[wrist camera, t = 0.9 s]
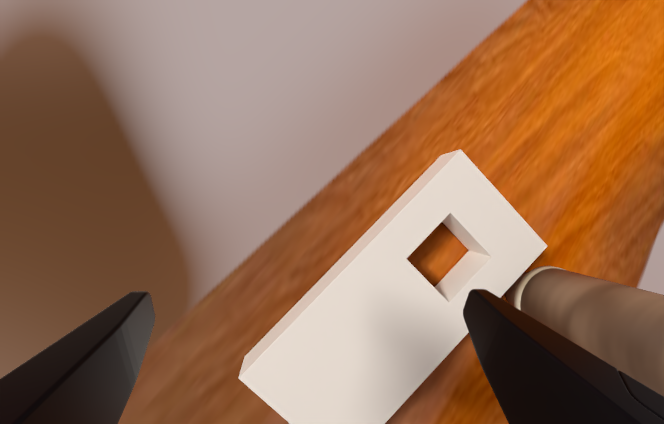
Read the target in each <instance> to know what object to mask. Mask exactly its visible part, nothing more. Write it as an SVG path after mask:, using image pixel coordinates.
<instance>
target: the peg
mask: <svg viewBox="0 0 664 424" xmlns="http://www.w3.org/2000/svg"><path fill="white" fill-rule="evenodd" d="M505 296H506V299H507V301H508V303H509V304H511V305H512V306H514V307H516V308H517V309H519V310H521V311H522V312H524V313H526V314H527V315H529V316H531V317H532V318H534V319H536V320H537V321H539V322H541V323H542V324H544V325H546V326H547V327H549V328H551V329H552V330H554V331H556V332H557V333H559V334H560V335H562V336H564V337H565V338H567V339H569V340H570V341H572V342H574V343H575V344H577V345H579V346H580V347H582V348H584V349H585V350H587V351H589V352H590V353H592V354H594V355H595V356H597V357H599V358H600V359H602V360H604V361H605V362H607V363H609V364H610V365H612V366H613V367H615V368H616V369H617V370H620V371H622V372H624V373H625V374H627V375H628V376H630V377H632V378H633V379H635V380H637V381H638V382H640V383H642V384H643V385H645V386H647V387H649V388H650V389H652V390H654V391H655V392H657V393H659V394H660V395H662V396H664V295H661V294H657V293H653V292H649V291H646V290H642V289H638V288H634V287H630V286H626V285H622V284H618V283H614V282H610V281H606V280H602V279H598V278H594V277H590V276H586V275H582V274H578V273H574V272H570V271H566V270H564V269H561V268H557V267H553V266H541V267H538V268H535V269H533V270H531V271H530V272H528V273H526V272H524V273H523V274H522V275H521V276H520V277H519V278H518V279H517V280H516V281H515V282H514V283H513V284H512V286H511V287H510V288H509V289H508V290H507V291H506V292H505Z"/></svg>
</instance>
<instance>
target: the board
mask: <svg viewBox="0 0 664 424" xmlns="http://www.w3.org/2000/svg"><path fill="white" fill-rule="evenodd" d="M441 222H443V223H444V224H445V226H446V227H447V228H448V229H449V230H450V231H451V232H452V233H453V234H454V235H455V236H456V237H457V238H458V239H459V240H460V241H461V243H462V244H463V245H464V246H465V247H466V248H467V249H468V250H469V251H468V252H467V253H466V254H465V255H464V256H463V258H462V259H461V260H460V261H459V262H458V263H457V264H456V265H455V266H454V267H453V268H452V269H451V270H450V271H449V272H448V273H447V275H446V276H445V277H444V278H443V279H442V280H441V281H440V282H439V283H438V284H437V285H436V286H435V287H433V286H432V285H431V284H430V283H429V282H428V280H427V279H426V278H425V277H424V276H423V275H422V274H421V273H420V272H419V271H418V270H417V269H416V268H415V267H414V266H413V265H412V264H411V263H410V262H409V261H408V260H407V258H408V256H409V255H410V254H411V253H412V252H413V251H414V250H415V249H416V248H417V247H418V246H419V245H420V244H421V243H422V242H423V241H424V240H425V239H426V238H427V237H428V236H429V234H430V233H431V232H432V231H433V230H434V229H435V228H436V227H437V226H438V225H439V224H440V223H441ZM546 247H547V245H546V244H545V243H544V242H543V240H542V239H541V238H540V237H539V236H538V235H537V234H536V233H535V232H534V230H533V229H532V228H531V227H530V226H529V225H528V224H527V223H526V222H525V220H524V219H523V218H522V217H521V216H520V215H519V214H518V213H517V212H516V210H515V209H514V208H513V207H512V206H511V205H510V204H509V203H508V202H507V200H506V199H505V198H504V197H503V196H502V195H501V194H500V193H499V191H498V190H497V189H496V188H495V187H494V186H493V185H492V184H491V183H490V181H489V180H488V179H487V178H486V177H485V176H484V175H483V174H482V173H481V171H480V170H479V169H478V168H477V167H476V166H475V165H474V164H473V163H472V161H471V160H470V159H469V158H468V157H467V156H466V155H465V154H464V153H463V151H462V150H461V149H460V150H457V151H453V152H450V153H447V154H443V155H441V156H440V157H439V158H438V159H437V160H436V161H435V162H434V163H433V164H432V165H431V166H430V167H429V168H428V169H427V170H426V171H425V172H424V173H423V174H422V175H421V176H420V177H419V178H418V179H417V180H416V181H415V182H414V183H413V184H412V186H411V187H410V188H409V189H408V190H407V191H406V192H405V193H404V194H403V195H402V196H401V197H400V198H399V199H398V200H397V201H396V202H395V203H394V204H393V205H392V206H391V207H390V208H389V209H388V210H387V211H386V212H385V213H384V214H383V215H382V216H381V217H380V218H379V219H378V220H377V221H376V222H375V223H374V225H373V226H372V227H371V228H370V229H369V230H368V231H367V232H366V233H365V234H364V235H363V236H362V237H361V238H360V239H359V240H358V241H357V242H356V243H355V244H354V245H353V246H352V247H351V248H350V249H349V250H348V251H347V252H346V253H345V254H344V255H343V256H342V257H341V258H340V259H339V260H338V261H337V262H336V263H335V265H334V266H333V267H332V268H331V269H330V270H329V271H328V272H327V273H326V274H325V275H324V276H323V277H322V278H321V279H320V280H319V281H318V282H317V283H316V284H315V285H314V286H313V287H312V288H311V289H310V290H309V291H308V292H307V293H306V294H305V295H304V296H303V297H302V298H301V299H300V300H299V301H298V302H297V303H296V305H295V306H294V307H293V308H292V309H291V310H290V311H289V312H288V313H287V314H286V315H285V316H284V317H283V318H282V319H281V320H280V321H279V322H278V323H277V324H276V325H275V326H274V327H273V328H272V329H271V330H270V331H269V332H268V333H267V334H266V335H265V336H264V337H263V338H262V339H261V340H260V341H259V342H258V343H257V345H256V346H255V347H254V348H253V349H252V350H251V351H250V352H249V353H248V354H247V355H246V356H245V357H244V360H243V364H242V367H241V371H240V374H239V379H240V380H241V381H242V382H243V383H244V384H245V385H247V386H248V387H249V388H250V389H251V390H252V391H253V392H255V393H256V394H257V395H258V396H259V397H260V398H261V399H263V400H264V401H265V402H266V403H267V404H268V405H269V406H271V407H272V408H273V409H274V410H275V411H276V412H277V413H279V414H280V415H281V416H282V417H283V418H284V419H285V420H287V421H288V422H289V423H290V424H385V423H386V422H387V421H388V420H389V418H390V417H391V416H392V415H393V414H394V413H395V412H396V411H397V410H398V409H399V408H400V406H401V405H402V404H403V403H404V402H405V401H406V400H407V399H408V398H409V397H410V396H411V394H412V393H413V392H414V391H415V390H416V389H417V388H418V387H419V386H420V385H421V384H422V383H423V381H424V380H425V379H426V378H427V377H428V376H429V375H430V374H431V373H432V372H433V371H434V369H435V368H436V367H437V366H438V365H439V364H440V363H441V362H442V361H443V360H444V359H445V357H446V356H447V355H448V354H449V353H450V352H451V351H452V350H453V349H454V348H455V347H456V345H457V344H458V343H459V342H460V341H461V340H462V339H463V338H464V337H465V336H466V335H467V334H468V332H469V331H468V329H467V326H466V323H465V321H464V318H463V308H464V305H465V302H466V300H467V297H468V294H469V292H470V291H471V290H472V289H486V290H488V291H489V292H491V293H493V294H494V295H496V296H498V297H499V298H501V296H502V295H503V294H504V293H505V292H506V291H507V290H508V289H509V288H510V287H511V286H512V284H513V283H514V282H515V281H516V280H517V279H518V278H519V277H520V276H521V275H522V274H523V273H524V271H525V270H526V269H527V268H528V267H529V266H530V265H531V264H532V263H533V262H534V261H535V259H536V258H537V257H538V256H539V255H540V254H541V253H542V252H543V251H544V250H545V249H546Z"/></svg>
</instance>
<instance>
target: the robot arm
mask: <svg viewBox="0 0 664 424" xmlns="http://www.w3.org/2000/svg"><path fill="white" fill-rule="evenodd" d="M463 318H464V321H465V323H466V326H467V329H468V331H469V334H470V337H471V340H472V342H473V345H474V348H475V351H476V353H477V356H478V359H479V361H480V364H481V366H482V368H483V371H484V373H485V375H486V377H487V379H488V381H489V383H490V385H491V387H492V389H493V392H494V394H495V396H496V398H497V400H498V402H499V404H500V406H501V408H502V410H503V412H504V414H505V416H506V418H507V421H508V423H509V424H664V396H662V395H660V394H659V393H657V392H655V391H654V390H652V389H650V388H649V387H647V386H645V385H643V384H642V383H640V382H638V381H637V380H635V379H633V378H632V377H630V376H628V375H627V374H625V373H624V372H622V371H620V370H617V369H616V368H615V367H613V366H612V365H610V364H609V363H607V362H605V361H604V360H602V359H600V358H599V357H597V356H595V355H594V354H592V353H590V352H589V351H587V350H585V349H584V348H582V347H580V346H579V345H577V344H575V343H574V342H572V341H570V340H569V339H567V338H565V337H564V336H562V335H560V334H559V333H557V332H556V331H554V330H552V329H551V328H549V327H547V326H546V325H544V324H542V323H541V322H539V321H537V320H536V319H534V318H532V317H531V316H529V315H527V314H526V313H524V312H522V311H521V310H519V309H517V308H516V307H514V306H512V305H511V304H509V303H507V302H506V301H504V300H503V299H501V298H499V297H498V296H496V295H494V294H493V293H491V292H489V291H488V290H486V289H472V290H471V291H470V292H469V294H468V297H467V300H466V302H465V305H464V308H463ZM154 322H155V313H154V308H153V304H152V299H151V295H150V293H149V292H146V291H138V292H137V291H135V292H130V293H129V294H127V295H126V296H124V297H122V298H121V299H119V300H118V301H116V302H115V303H113V304H112V305H110V306H109V307H107V308H106V309H104V310H103V311H101V312H100V313H98V314H97V315H95V316H94V317H93V318H91V319H89V320H88V321H86V322H85V323H83V324H82V325H80V326H79V327H77V328H76V329H74V330H73V331H71V332H70V333H68V334H67V335H65V336H64V337H62V338H61V339H60V340H58V341H57V342H55V343H53V344H52V345H50V346H49V347H47V348H46V349H44V350H43V351H41V352H40V353H38V354H37V355H36V356H34V357H32V358H31V359H29V360H28V361H26V362H25V363H23V364H22V365H20V366H19V367H17V368H16V369H14V370H13V371H12V372H10V373H8V374H7V375H5V376H4V377H2V378H1V379H0V424H118V422H119V419H120V417H121V415H122V413H123V410H124V408H125V406H126V403H127V401H128V399H129V397H130V394H131V392H132V390H133V387H134V385H135V382H136V380H137V377H138V374H139V371H140V368H141V364H142V361H143V358H144V355H145V352H146V348H147V345H148V342H149V339H150V336H151V332H152V329H153V326H154Z"/></svg>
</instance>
